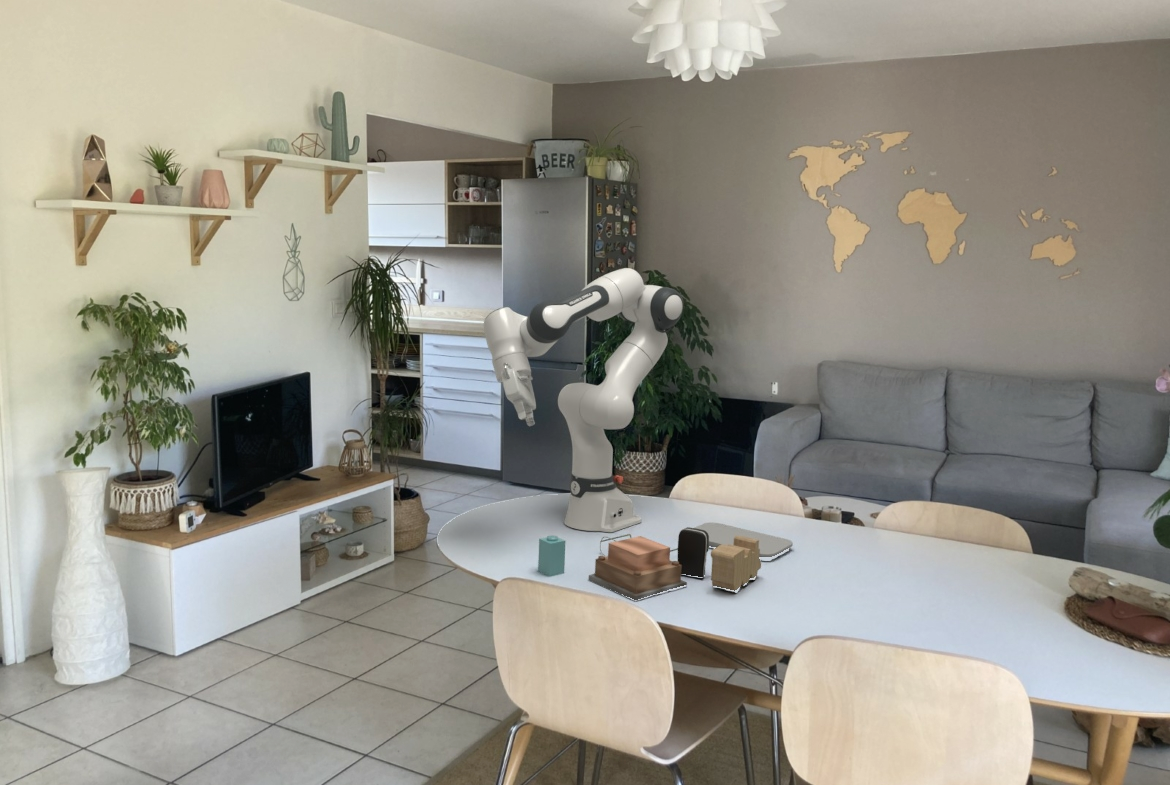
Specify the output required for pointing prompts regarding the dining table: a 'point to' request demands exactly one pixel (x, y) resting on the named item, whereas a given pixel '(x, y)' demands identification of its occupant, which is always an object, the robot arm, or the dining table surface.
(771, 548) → the tablet
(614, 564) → the wooden stepped box
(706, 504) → the dining table surface
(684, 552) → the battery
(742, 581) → the toy train
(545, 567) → the teal brick
